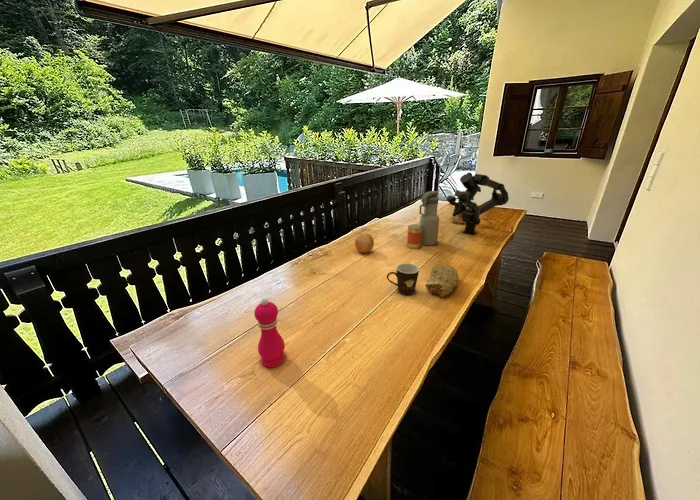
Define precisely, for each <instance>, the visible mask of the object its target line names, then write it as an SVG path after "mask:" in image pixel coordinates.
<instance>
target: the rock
mask: <svg viewBox="0 0 700 500" xmlns="http://www.w3.org/2000/svg"><path fill="white" fill-rule="evenodd" d="M429 277H430V278H429V280H427V282H426V283H425V287H426V289H427V290H428V291H429V292H431V293H433V294H435V295H438V296H439V297H441V298H442V297H443V298H444V297H446V296H448V295H450V294H451V293H452V292H453V290H454V288H455V287H457V286H458V284H459V281H460V279H459V274H458V270H457V269H456V268H455V267H454V266H452V265H449V264H443V263H440V264H435V265H434V266H433V267H432V268H431V272H430V276H429Z"/></svg>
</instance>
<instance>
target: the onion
mask: <svg viewBox="0 0 700 500" xmlns="http://www.w3.org/2000/svg"><path fill="white" fill-rule="evenodd" d="M374 246H375V241H374V237H373V236H372V235H371V234H369V233H367V232H364V233H360V234H358V235H357V236H356V237H355V240H354V247H355V249H356V251H358V252H359V253H361V254H365V253H369V252H371V251H372V250H373V248H374Z"/></svg>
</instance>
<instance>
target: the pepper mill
mask: <svg viewBox="0 0 700 500" xmlns="http://www.w3.org/2000/svg"><path fill="white" fill-rule="evenodd" d="M253 314H254V317H255V320H256V322H257V326H258V328H259V329H260V333H261V335H260V338H259V341H258V344H257V352H258V355H259V356H260V358H261V364H262V365H263V366H265V367H266V368H274V367H278V366H280V365H281V364H282V363H283V362H284V360H285V348H286V346H285V345H286V344H285V340H284V339H283V337H282V335H281V334H280V333H279V331H278V329H277V325H278V318H277V317H278V315H279V309H278V307H277V305H276V304H275V303H273V302H271V301H269V300H268V298H266V297H265V298H262V299H261V301H260V303H259V304H258V305H256V307H255V309H254V312H253Z"/></svg>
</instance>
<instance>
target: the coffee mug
mask: <svg viewBox="0 0 700 500" xmlns="http://www.w3.org/2000/svg"><path fill="white" fill-rule="evenodd" d="M395 269H396V272H395V271H390V272H388V273H387V275H386V279H387V281H388V282H389V283H391V284H393V285H395V286H396V287H397V291H398V293H399V294H400V295H403V296H412V295H414V294H415V292H416V287H417V282H418V279H419V273H420V267H419V266H418V265H416V264H413V263H400V264H397V266H396V268H395ZM392 274H393V275H395V277H396V281H397V283H396V282H394V281H393V280H391V279H389V276H391V275H392Z"/></svg>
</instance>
